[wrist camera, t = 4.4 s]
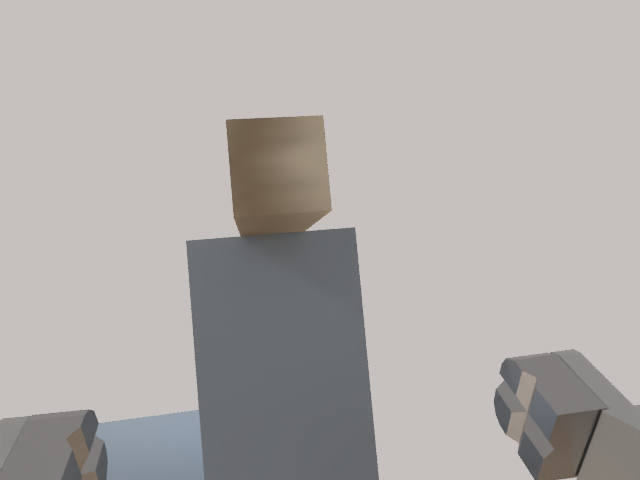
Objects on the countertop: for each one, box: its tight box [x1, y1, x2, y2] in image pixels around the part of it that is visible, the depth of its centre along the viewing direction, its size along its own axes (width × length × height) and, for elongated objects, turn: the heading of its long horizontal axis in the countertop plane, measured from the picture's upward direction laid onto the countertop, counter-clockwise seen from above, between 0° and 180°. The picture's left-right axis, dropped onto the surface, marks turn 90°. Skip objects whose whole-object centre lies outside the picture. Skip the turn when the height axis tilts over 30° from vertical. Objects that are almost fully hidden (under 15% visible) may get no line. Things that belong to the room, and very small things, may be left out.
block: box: [226, 116, 332, 236], centre depth 25 cm, size 3×22×3 cm, turn 8°
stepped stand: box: [95, 228, 379, 480], centre depth 27 cm, size 18×12×26 cm, turn 98°
